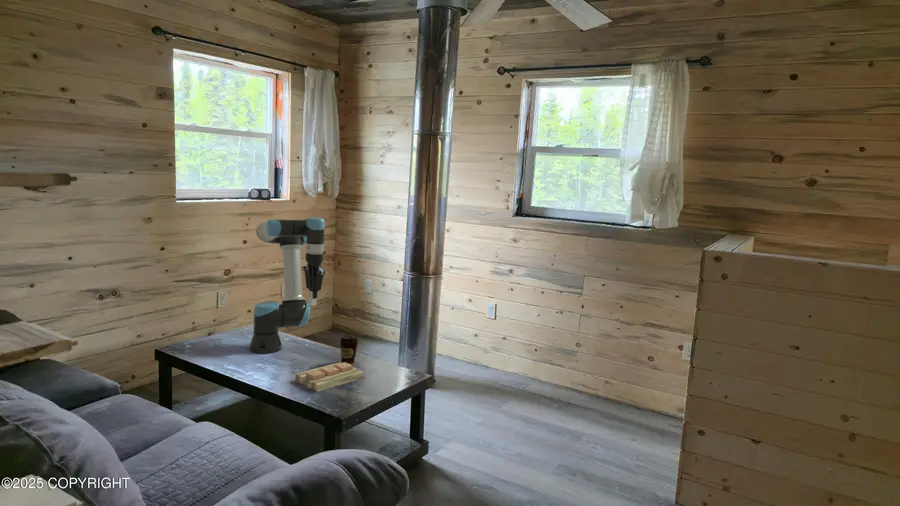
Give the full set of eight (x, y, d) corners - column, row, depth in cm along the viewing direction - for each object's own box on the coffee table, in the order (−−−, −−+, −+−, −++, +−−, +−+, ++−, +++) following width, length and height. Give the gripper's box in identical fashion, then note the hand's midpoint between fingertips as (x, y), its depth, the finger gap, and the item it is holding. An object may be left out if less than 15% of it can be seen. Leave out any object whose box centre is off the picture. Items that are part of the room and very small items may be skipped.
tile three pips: (334, 374, 247) (334, 364, 246) (344, 371, 251) (344, 361, 251) (342, 378, 243) (342, 367, 243) (352, 375, 248) (352, 365, 247)
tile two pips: (320, 378, 241) (320, 368, 241) (330, 375, 246) (331, 365, 245) (328, 382, 238) (328, 371, 237) (338, 379, 242) (339, 368, 241)
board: (295, 380, 238) (295, 373, 237) (340, 368, 256) (340, 361, 256) (317, 391, 228) (317, 384, 227) (362, 378, 246) (363, 371, 245)
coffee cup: (352, 367, 258) (354, 340, 256) (336, 364, 260) (337, 338, 258) (359, 361, 267) (360, 335, 265) (343, 359, 268) (344, 333, 266)
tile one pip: (305, 382, 236) (306, 372, 235) (316, 379, 240) (317, 369, 239) (313, 386, 232) (314, 375, 232) (324, 383, 236) (325, 372, 236)
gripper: (298, 251, 244) (297, 303, 248) (316, 255, 236) (314, 309, 239) (313, 250, 250) (311, 301, 253) (330, 254, 242) (328, 307, 245)
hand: (312, 305), depth 246 cm, fingers closed
